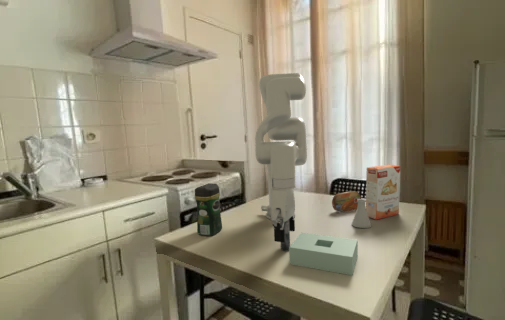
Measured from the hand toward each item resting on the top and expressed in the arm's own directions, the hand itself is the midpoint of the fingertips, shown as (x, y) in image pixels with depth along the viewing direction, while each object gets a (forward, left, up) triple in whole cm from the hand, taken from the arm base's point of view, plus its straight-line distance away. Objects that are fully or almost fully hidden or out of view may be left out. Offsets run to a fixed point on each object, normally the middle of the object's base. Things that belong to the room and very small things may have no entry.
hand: (285, 235), depth 90 cm
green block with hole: (+13, -3, -4) cm, 14 cm away
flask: (+20, +30, -5) cm, 36 cm away
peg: (0, 0, -4) cm, 4 cm away
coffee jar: (-32, +4, -5) cm, 33 cm away
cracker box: (+27, +45, -5) cm, 53 cm away
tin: (+12, +48, -5) cm, 50 cm away
